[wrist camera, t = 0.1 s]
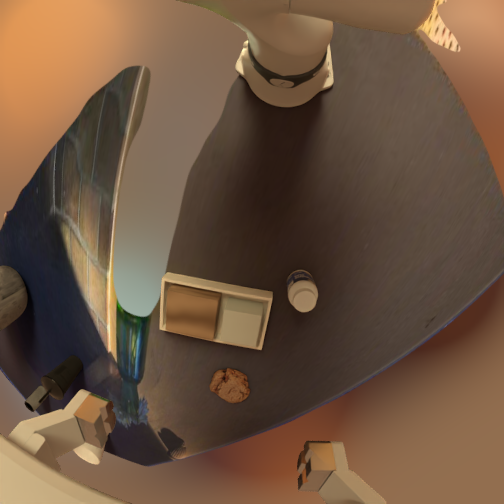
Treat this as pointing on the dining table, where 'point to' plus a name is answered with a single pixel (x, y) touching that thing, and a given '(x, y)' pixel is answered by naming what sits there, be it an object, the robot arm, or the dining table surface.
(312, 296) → the pill bottle
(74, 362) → the drinking cup
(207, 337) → the walnut block
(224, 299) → the box
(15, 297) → the vase
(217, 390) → the cookie
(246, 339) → the pale green block
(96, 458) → the cup
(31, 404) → the planter
